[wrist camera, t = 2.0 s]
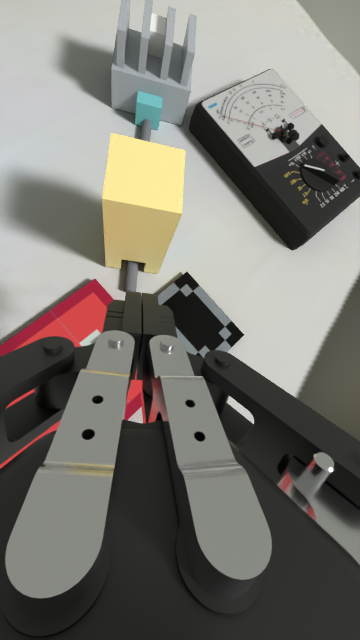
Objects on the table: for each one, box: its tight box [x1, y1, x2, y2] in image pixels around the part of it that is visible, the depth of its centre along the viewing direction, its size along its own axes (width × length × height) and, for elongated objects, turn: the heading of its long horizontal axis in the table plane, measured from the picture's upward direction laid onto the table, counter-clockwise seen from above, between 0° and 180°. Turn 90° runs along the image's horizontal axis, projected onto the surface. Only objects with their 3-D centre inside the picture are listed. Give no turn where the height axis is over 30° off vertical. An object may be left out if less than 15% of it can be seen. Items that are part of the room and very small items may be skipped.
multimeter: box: [189, 69, 360, 250], centre depth 33 cm, size 13×19×5 cm
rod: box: [125, 91, 163, 292], centre depth 29 cm, size 28×3×3 cm, turn 177°
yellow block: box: [102, 133, 185, 274], centre depth 23 cm, size 5×5×10 cm
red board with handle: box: [0, 272, 244, 469], centre depth 23 cm, size 30×3×15 cm
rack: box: [111, 0, 197, 126], centre depth 29 cm, size 6×8×7 cm
